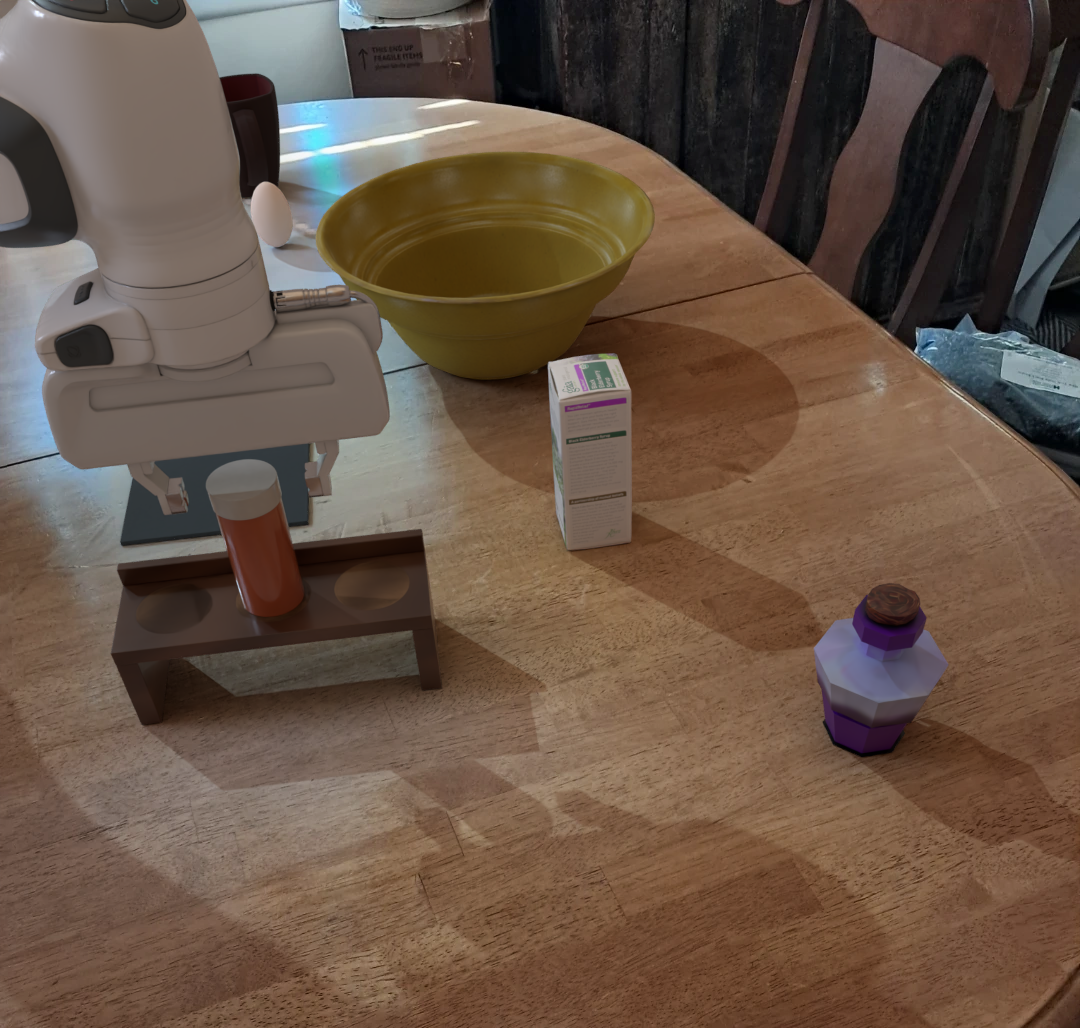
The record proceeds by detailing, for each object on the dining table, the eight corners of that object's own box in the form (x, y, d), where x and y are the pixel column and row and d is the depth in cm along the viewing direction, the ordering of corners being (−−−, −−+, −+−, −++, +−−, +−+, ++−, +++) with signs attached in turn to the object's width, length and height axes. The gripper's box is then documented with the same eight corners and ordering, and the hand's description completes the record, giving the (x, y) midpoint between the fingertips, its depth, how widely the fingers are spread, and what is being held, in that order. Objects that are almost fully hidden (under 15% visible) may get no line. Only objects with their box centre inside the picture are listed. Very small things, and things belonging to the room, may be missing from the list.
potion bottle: (927, 692, 83) (965, 561, 74) (927, 782, 77) (968, 652, 68) (805, 677, 84) (828, 546, 76) (796, 764, 79) (819, 634, 70)
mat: (121, 545, 98) (119, 542, 98) (138, 454, 108) (137, 450, 108) (308, 524, 99) (307, 520, 99) (309, 435, 109) (308, 431, 109)
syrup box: (633, 543, 96) (636, 387, 85) (563, 553, 95) (558, 397, 85) (619, 503, 100) (620, 349, 89) (551, 512, 99) (545, 358, 89)
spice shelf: (141, 725, 84) (103, 637, 77) (152, 650, 89) (117, 562, 83) (442, 688, 85) (428, 598, 79) (434, 617, 90) (421, 528, 84)
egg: (271, 235, 140) (257, 172, 134) (304, 239, 138) (292, 176, 133) (251, 252, 137) (236, 188, 131) (285, 256, 135) (271, 192, 130)
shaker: (239, 621, 80) (203, 504, 73) (242, 579, 83) (207, 463, 76) (305, 614, 80) (275, 495, 73) (306, 572, 84) (277, 455, 76)
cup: (284, 167, 154) (265, 69, 145) (307, 207, 145) (287, 105, 136) (210, 181, 152) (186, 82, 143) (228, 222, 143) (204, 119, 134)
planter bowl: (398, 467, 105) (377, 330, 95) (301, 315, 125) (275, 190, 115) (708, 380, 113) (718, 245, 103) (569, 250, 133) (566, 128, 124)
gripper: (372, 257, 69) (404, 455, 79) (24, 294, 67) (101, 490, 77) (376, 307, 64) (409, 509, 74) (4, 348, 63) (88, 548, 73)
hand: (249, 500), depth 76 cm, fingers open, 8 cm apart
